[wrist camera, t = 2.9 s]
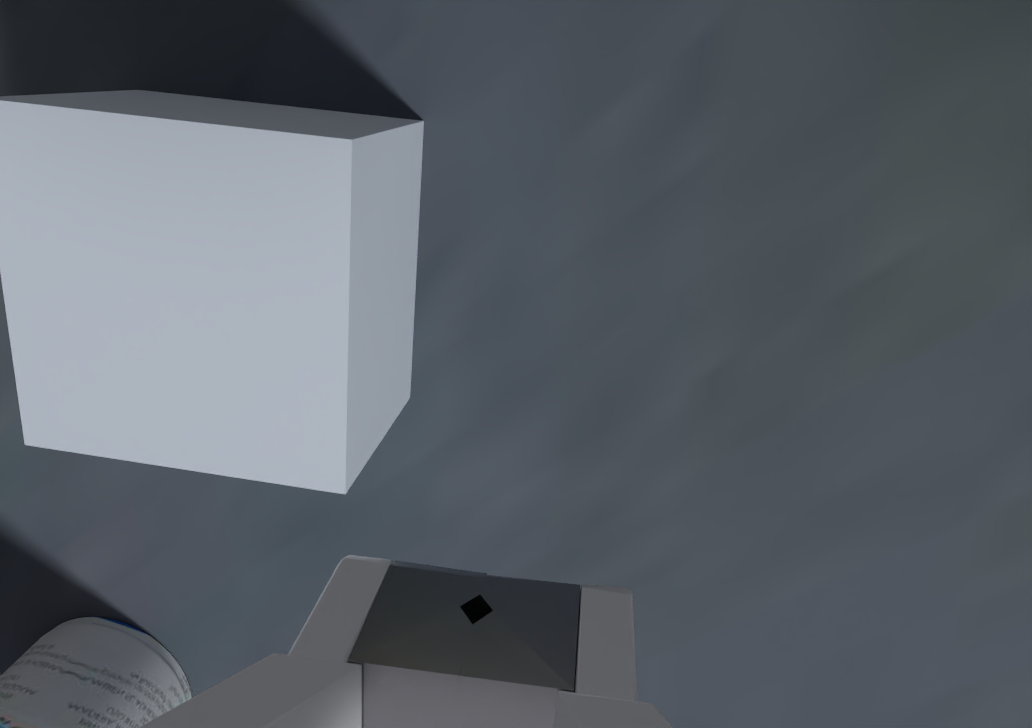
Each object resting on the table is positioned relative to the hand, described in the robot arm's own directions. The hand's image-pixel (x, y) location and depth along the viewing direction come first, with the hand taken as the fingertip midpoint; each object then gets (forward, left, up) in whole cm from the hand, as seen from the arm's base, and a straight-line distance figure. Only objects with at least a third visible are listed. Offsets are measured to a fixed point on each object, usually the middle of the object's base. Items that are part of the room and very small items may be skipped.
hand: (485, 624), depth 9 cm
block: (+8, 0, -15) cm, 17 cm away
